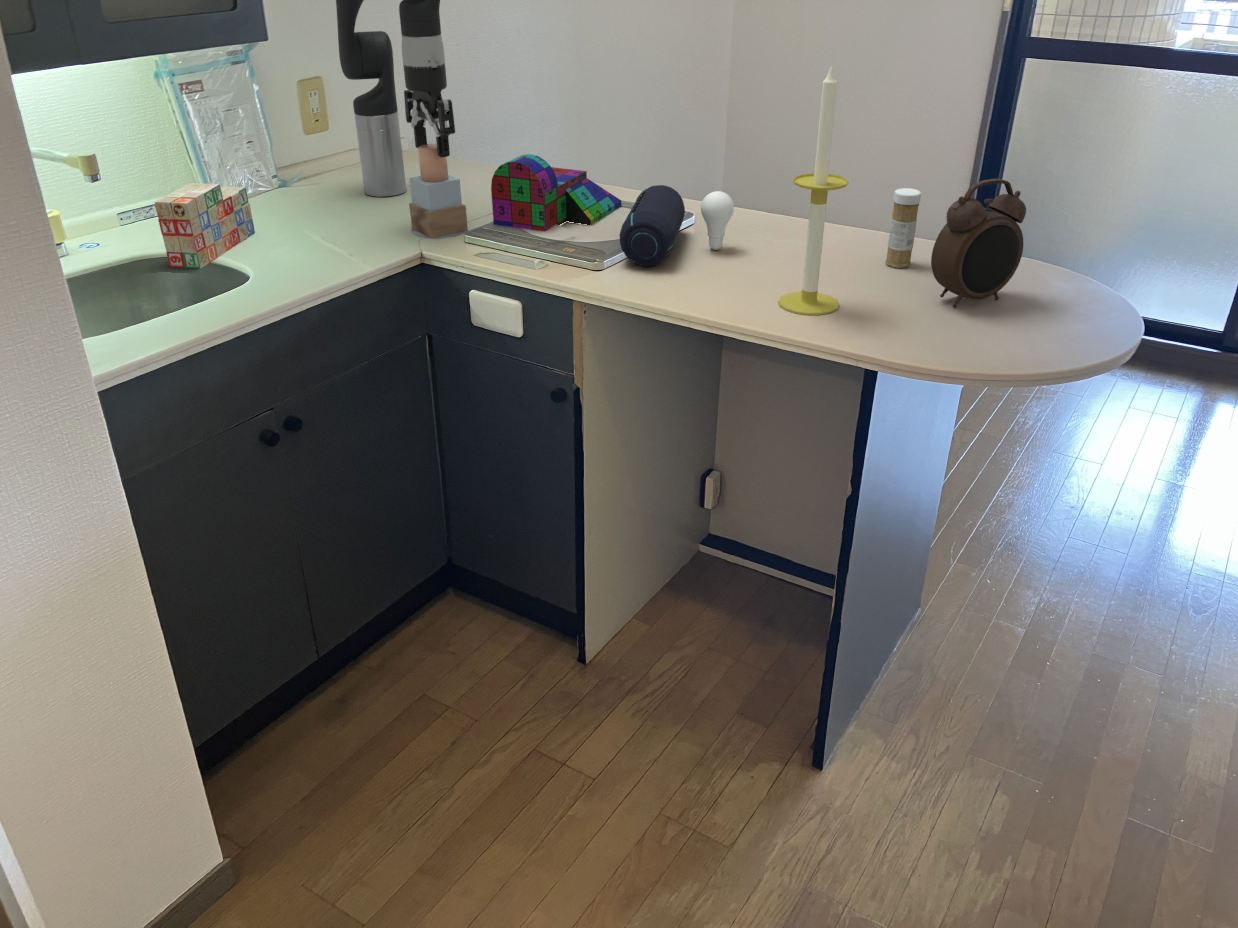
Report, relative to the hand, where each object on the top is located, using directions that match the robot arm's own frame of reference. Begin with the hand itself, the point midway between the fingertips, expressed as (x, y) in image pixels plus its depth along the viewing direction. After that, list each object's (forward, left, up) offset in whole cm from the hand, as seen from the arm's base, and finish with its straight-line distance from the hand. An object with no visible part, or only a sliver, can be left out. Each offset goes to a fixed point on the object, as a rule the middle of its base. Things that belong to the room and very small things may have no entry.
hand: (432, 152), depth 191 cm
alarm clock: (+87, +51, -16) cm, 102 cm away
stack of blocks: (-19, -38, -16) cm, 46 cm away
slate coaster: (0, 0, -16) cm, 16 cm away
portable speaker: (+33, +27, -16) cm, 46 cm away
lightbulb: (+41, +36, -16) cm, 57 cm away
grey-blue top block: (0, 0, -10) cm, 10 cm away
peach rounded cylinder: (0, 0, -5) cm, 5 cm away
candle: (+71, +29, -16) cm, 78 cm away
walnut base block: (0, 0, -15) cm, 15 cm away
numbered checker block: (+5, +25, -17) cm, 31 cm away
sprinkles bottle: (+68, +56, -16) cm, 90 cm away
